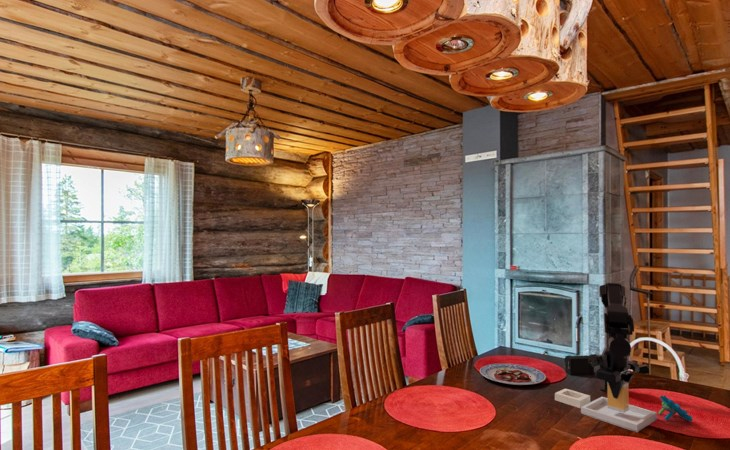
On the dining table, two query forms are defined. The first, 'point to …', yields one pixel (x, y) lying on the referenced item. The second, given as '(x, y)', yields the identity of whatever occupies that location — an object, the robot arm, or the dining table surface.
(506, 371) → the ceramic plate
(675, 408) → the blue toy water gun
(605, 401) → the parts tray
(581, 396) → the white shallow boxy piece
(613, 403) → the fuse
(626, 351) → the robot arm
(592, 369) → the digital camera
